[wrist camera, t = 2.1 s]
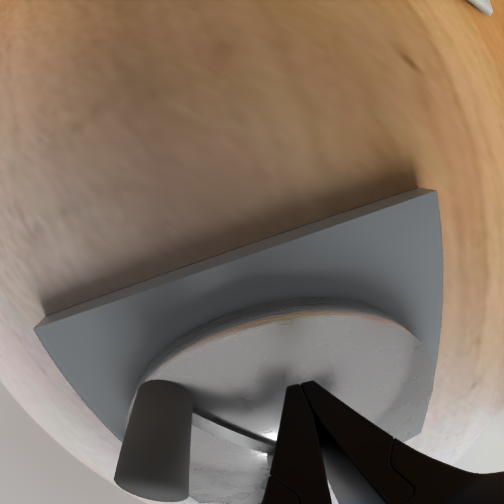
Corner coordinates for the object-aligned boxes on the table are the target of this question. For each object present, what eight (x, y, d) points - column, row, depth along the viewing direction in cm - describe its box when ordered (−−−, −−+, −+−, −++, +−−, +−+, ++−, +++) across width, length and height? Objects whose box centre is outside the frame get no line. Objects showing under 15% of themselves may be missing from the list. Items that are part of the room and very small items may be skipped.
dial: (446, 378, 15) (492, 428, 9) (281, 496, 17) (293, 549, 11) (285, 204, 10) (379, 252, 4) (88, 426, 13) (62, 501, 6)
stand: (414, 422, 19) (434, 452, 14) (199, 491, 18) (200, 526, 14) (418, 187, 12) (480, 198, 8) (45, 316, 12) (5, 358, 8)
